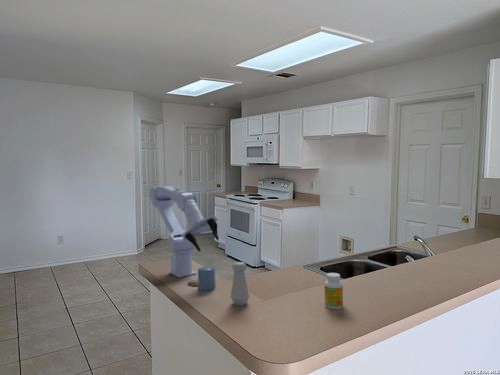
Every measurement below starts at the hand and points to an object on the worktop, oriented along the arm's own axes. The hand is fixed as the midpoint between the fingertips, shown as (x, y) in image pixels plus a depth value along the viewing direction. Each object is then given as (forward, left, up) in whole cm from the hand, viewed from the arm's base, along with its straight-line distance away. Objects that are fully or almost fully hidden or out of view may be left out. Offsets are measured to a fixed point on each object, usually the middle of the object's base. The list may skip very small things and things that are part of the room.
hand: (208, 244), depth 127 cm
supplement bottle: (+41, +19, -16) cm, 48 cm away
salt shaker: (+20, -1, -16) cm, 26 cm away
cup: (0, -1, -16) cm, 16 cm away
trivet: (-7, -1, -16) cm, 17 cm away
